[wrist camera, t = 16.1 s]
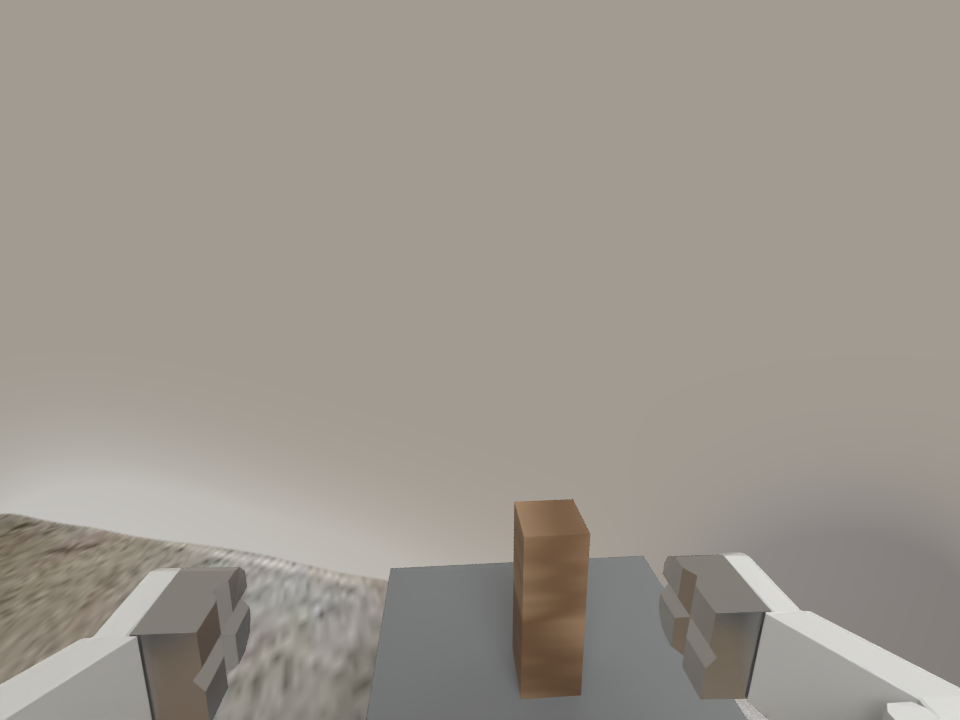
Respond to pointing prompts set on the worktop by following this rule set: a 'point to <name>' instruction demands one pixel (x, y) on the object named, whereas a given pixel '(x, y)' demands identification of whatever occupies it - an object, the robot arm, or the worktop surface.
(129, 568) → the worktop surface
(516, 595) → the lid
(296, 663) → the worktop surface
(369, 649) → the worktop surface
